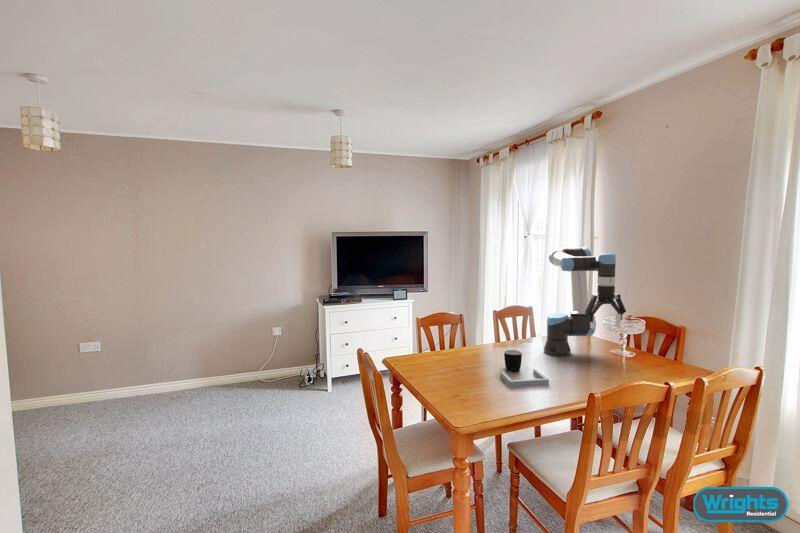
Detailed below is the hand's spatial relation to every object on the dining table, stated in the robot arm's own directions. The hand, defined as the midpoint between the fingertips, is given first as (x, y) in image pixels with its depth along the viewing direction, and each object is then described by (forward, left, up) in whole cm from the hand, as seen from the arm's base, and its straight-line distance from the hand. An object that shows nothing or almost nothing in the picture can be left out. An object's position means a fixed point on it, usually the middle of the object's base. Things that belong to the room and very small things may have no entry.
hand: (605, 327), depth 188 cm
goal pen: (-1, -41, -25) cm, 48 cm away
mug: (-18, -41, -26) cm, 52 cm away
